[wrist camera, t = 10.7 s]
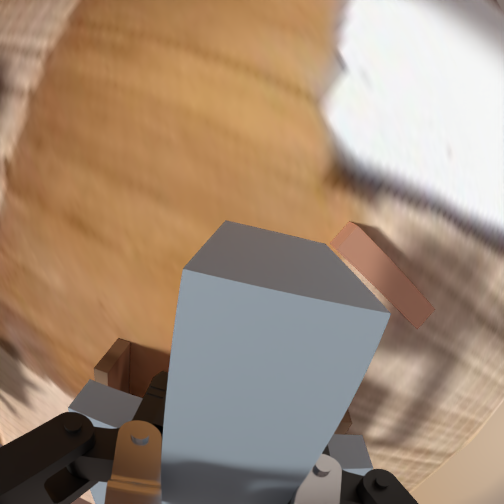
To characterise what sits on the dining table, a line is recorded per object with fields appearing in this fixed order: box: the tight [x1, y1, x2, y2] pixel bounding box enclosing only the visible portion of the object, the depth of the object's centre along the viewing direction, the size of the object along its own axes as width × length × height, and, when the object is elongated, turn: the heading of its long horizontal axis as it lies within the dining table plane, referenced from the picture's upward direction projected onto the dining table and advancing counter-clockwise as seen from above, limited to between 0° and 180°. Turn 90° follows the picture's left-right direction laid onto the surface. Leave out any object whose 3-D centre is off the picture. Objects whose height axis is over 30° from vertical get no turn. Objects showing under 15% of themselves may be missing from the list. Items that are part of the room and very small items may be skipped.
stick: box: [330, 221, 435, 329], centre depth 22 cm, size 10×2×2 cm, turn 50°
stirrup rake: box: [68, 221, 391, 504], centre depth 10 cm, size 23×14×6 cm, turn 167°
